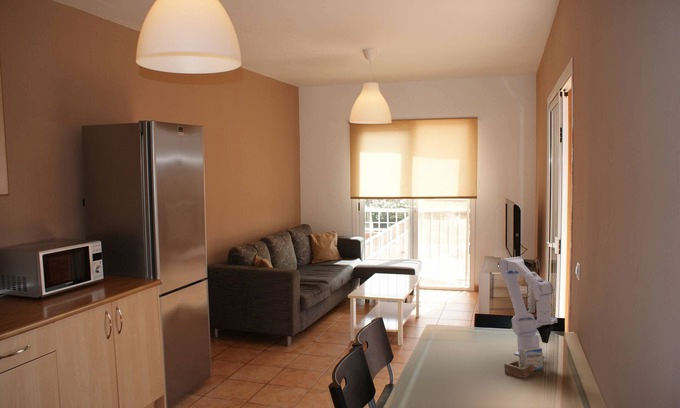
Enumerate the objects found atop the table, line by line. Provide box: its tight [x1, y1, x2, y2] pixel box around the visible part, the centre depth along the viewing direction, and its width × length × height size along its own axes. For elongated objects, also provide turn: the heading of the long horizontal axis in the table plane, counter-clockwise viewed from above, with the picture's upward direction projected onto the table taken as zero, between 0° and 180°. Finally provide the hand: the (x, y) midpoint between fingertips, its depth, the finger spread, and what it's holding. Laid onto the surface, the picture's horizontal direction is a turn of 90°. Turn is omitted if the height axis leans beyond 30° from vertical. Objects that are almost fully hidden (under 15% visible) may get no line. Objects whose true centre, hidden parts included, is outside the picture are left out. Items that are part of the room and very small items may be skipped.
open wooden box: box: [503, 360, 535, 379], centre depth 219 cm, size 7×9×4 cm
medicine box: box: [519, 346, 544, 372], centre depth 223 cm, size 8×4×9 cm, turn 105°
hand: (545, 342), depth 227 cm, fingers closed
